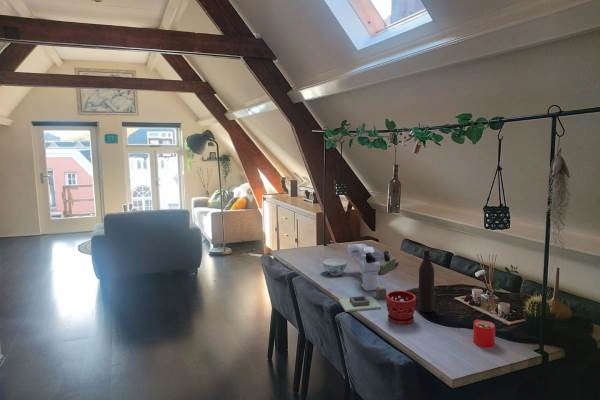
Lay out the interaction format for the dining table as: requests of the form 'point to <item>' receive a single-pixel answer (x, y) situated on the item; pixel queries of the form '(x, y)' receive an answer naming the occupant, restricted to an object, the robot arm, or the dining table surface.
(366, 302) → the end holder
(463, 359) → the dining table surface
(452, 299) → the dining table surface
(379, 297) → the connector plug
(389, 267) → the handheld radio
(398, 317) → the plant pot
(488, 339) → the red cylinder
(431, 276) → the wine bottle
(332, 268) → the chinaware
